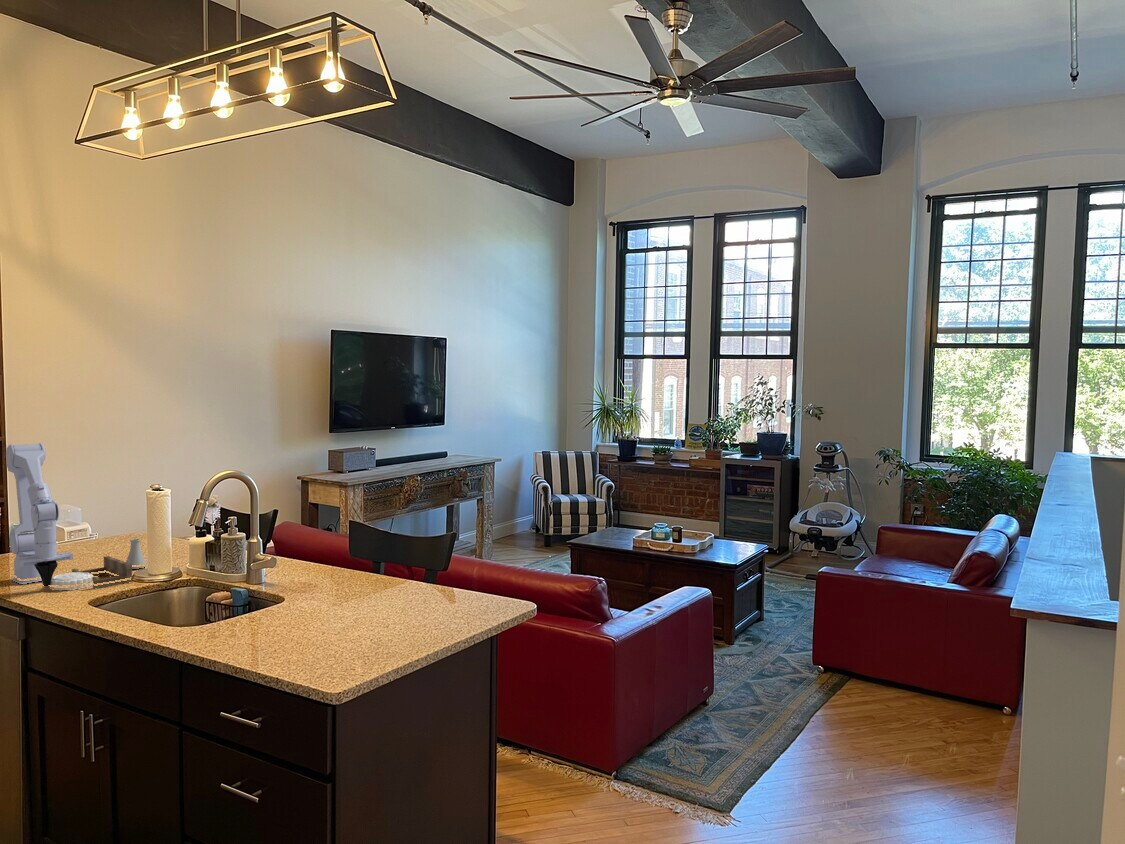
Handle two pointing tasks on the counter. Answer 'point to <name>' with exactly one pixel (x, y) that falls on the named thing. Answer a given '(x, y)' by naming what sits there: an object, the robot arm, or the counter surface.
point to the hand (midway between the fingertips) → (46, 586)
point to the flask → (136, 554)
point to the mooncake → (71, 580)
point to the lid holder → (114, 567)
